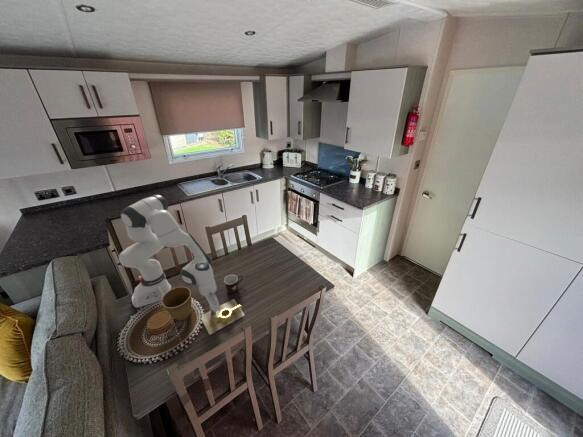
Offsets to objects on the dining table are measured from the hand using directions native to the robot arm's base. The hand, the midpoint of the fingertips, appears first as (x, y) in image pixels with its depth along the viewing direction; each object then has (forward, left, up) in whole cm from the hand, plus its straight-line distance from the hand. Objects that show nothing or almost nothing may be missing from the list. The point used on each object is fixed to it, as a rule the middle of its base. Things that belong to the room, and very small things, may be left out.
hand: (212, 305), depth 136 cm
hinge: (+4, -8, -7) cm, 11 cm away
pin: (0, 0, -7) cm, 7 cm away
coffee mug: (+18, +10, -8) cm, 22 cm away
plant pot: (-15, +10, -8) cm, 20 cm away
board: (+3, -5, -8) cm, 9 cm away
